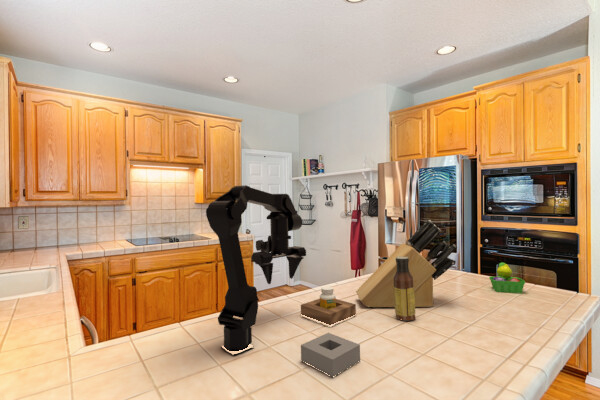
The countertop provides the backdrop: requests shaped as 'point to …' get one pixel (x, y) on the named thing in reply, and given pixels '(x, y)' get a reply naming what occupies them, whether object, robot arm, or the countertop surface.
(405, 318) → the sauce bottle
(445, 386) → the countertop surface
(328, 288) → the supplement bottle
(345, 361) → the grey narrow collar
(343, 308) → the walnut sleeve block
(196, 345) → the countertop surface
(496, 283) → the fruit basket
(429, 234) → the knife block
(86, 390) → the countertop surface
